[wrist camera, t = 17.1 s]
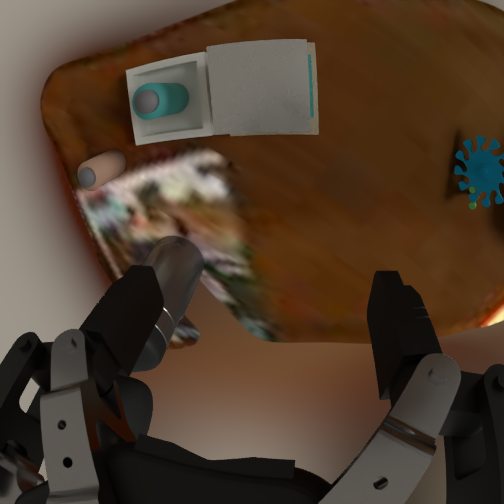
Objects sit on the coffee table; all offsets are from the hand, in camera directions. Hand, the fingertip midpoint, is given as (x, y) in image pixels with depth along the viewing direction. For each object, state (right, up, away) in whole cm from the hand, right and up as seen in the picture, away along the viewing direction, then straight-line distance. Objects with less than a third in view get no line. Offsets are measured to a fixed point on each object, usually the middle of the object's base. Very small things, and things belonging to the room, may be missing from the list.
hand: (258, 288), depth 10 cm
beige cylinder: (-22, +15, +29) cm, 40 cm away
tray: (-10, +22, +23) cm, 33 cm away
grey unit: (+2, +22, +21) cm, 30 cm away
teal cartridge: (-11, +21, +22) cm, 33 cm away
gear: (+32, +14, +21) cm, 41 cm away
